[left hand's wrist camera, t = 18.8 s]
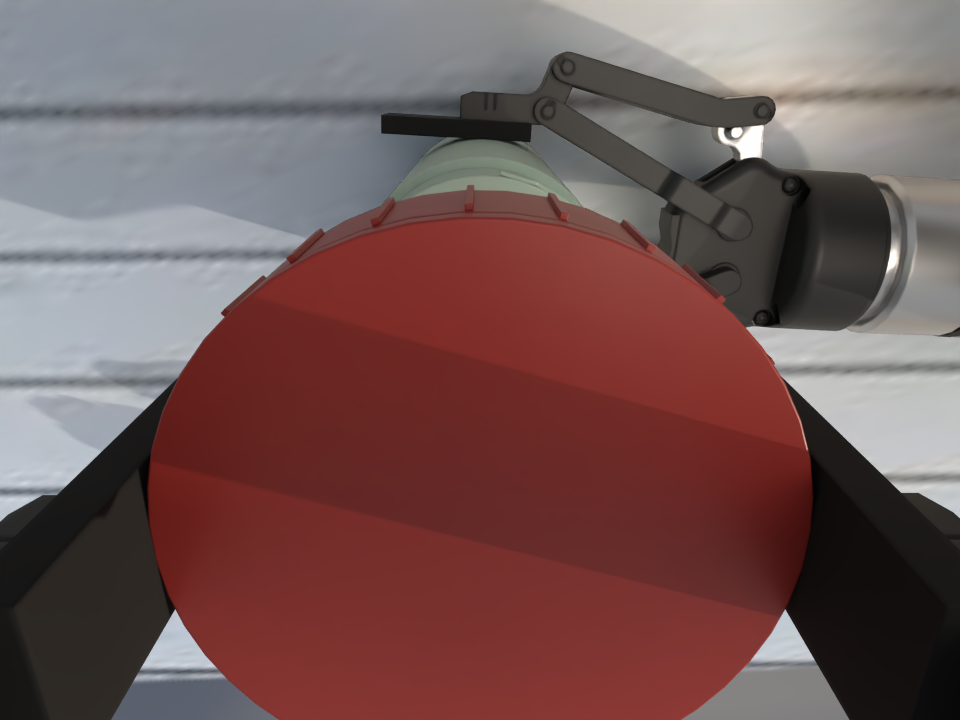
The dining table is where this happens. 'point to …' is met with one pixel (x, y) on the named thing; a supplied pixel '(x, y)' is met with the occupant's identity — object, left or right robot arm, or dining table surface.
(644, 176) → the right robot arm
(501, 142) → the jar
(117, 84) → the dining table surface
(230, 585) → the lid
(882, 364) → the dining table surface
